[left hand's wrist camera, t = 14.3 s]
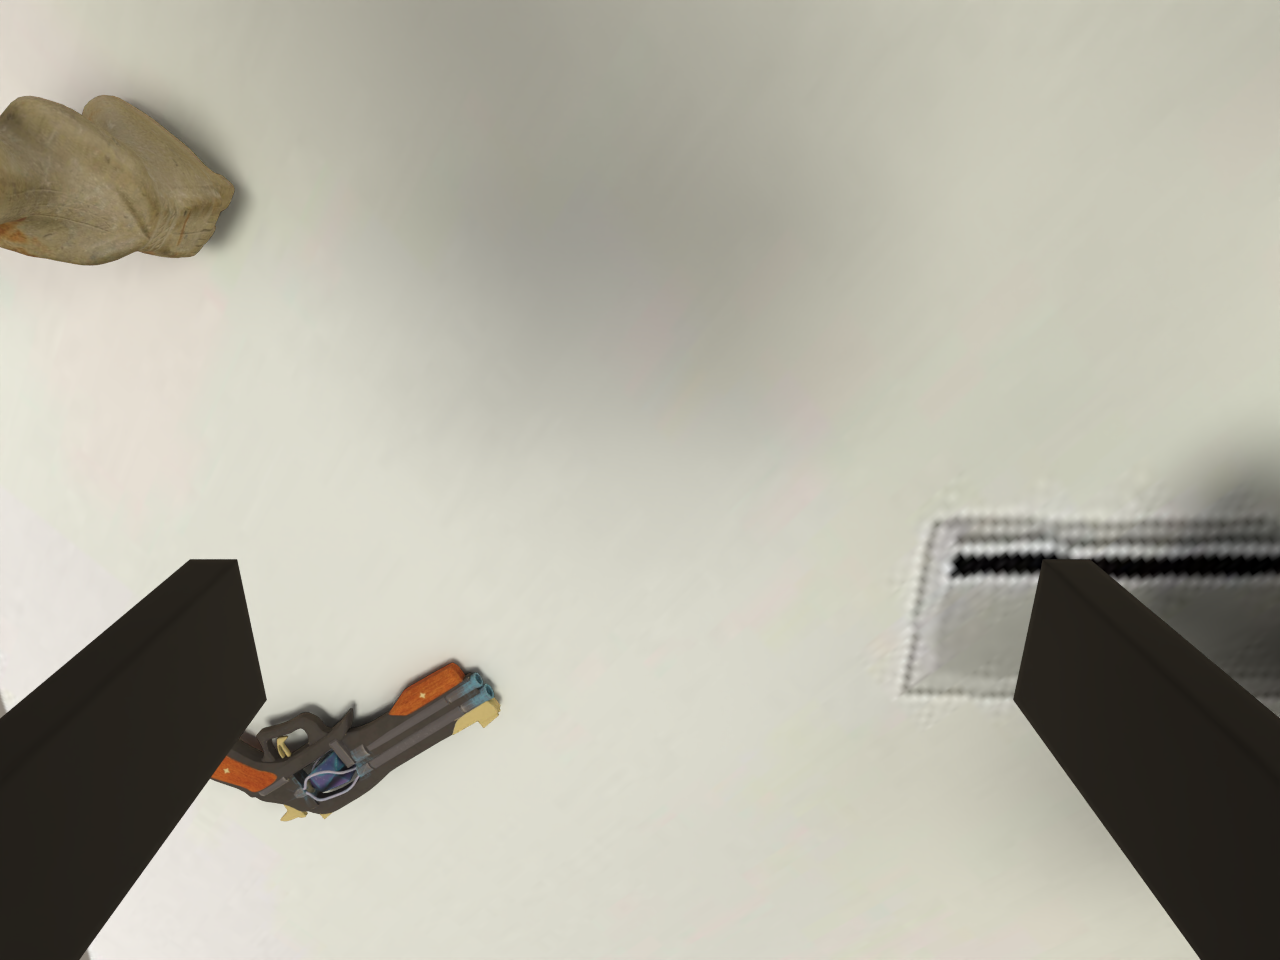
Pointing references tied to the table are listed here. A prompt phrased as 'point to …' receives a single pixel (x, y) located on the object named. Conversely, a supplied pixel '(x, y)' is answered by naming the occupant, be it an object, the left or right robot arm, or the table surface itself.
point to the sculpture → (101, 184)
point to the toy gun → (356, 745)
